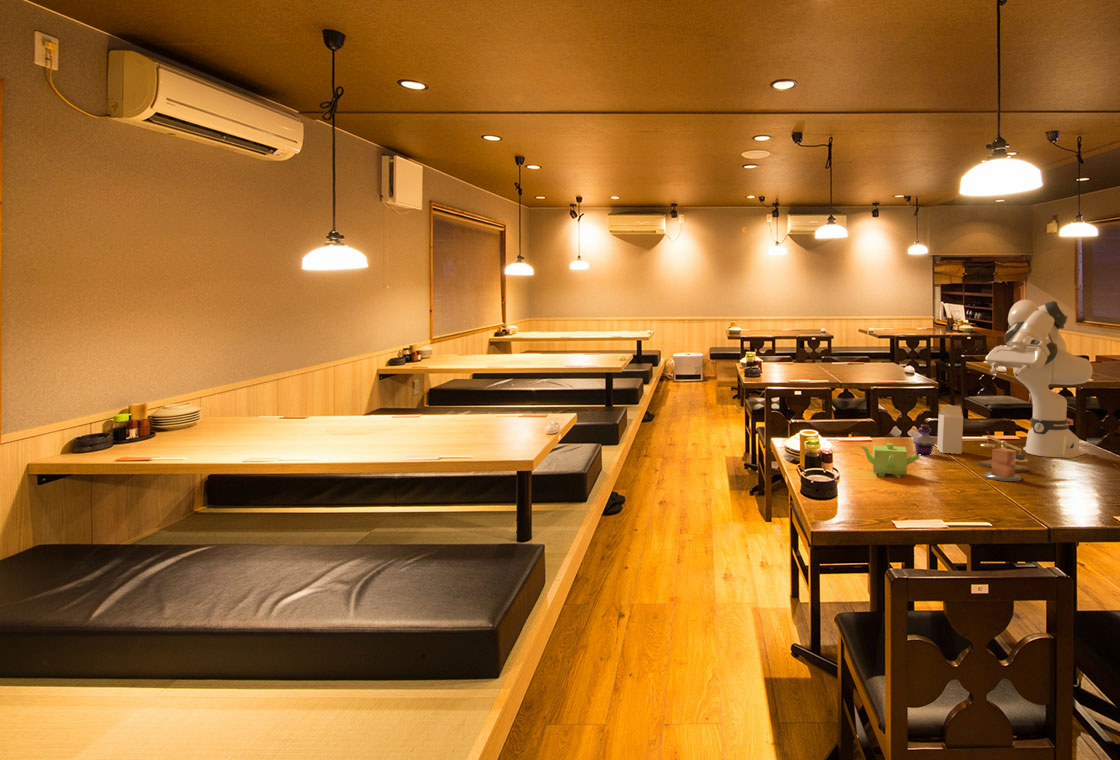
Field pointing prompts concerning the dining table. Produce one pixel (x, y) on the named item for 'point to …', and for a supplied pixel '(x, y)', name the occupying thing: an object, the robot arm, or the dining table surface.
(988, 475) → the gray dish
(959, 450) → the milk carton
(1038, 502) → the dining table surface
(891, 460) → the kettle
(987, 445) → the brass balance
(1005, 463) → the terracotta block
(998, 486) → the dining table surface
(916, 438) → the potion bottle
